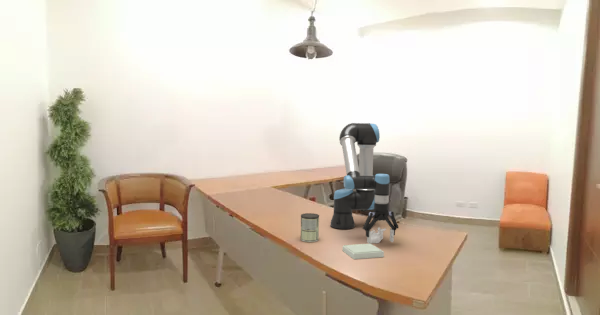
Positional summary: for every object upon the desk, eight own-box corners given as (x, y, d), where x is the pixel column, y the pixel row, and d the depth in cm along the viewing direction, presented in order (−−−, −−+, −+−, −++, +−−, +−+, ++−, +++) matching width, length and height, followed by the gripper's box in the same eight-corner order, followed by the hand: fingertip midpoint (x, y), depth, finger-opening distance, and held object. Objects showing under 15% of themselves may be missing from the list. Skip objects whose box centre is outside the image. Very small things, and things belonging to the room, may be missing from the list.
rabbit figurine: (382, 240, 227) (383, 223, 227) (391, 244, 221) (391, 226, 220) (365, 242, 222) (365, 225, 221) (373, 246, 215) (373, 228, 215)
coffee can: (297, 238, 229) (298, 213, 228) (314, 236, 233) (314, 212, 232) (304, 242, 219) (304, 217, 218) (321, 241, 223) (322, 216, 222)
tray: (342, 250, 206) (342, 245, 206) (370, 248, 210) (370, 243, 210) (353, 259, 192) (354, 253, 192) (383, 256, 197) (383, 250, 197)
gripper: (363, 204, 207) (362, 245, 208) (405, 203, 214) (404, 242, 215) (357, 202, 214) (356, 241, 215) (398, 201, 221) (397, 239, 222)
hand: (380, 242), depth 215 cm, fingers open, 13 cm apart
